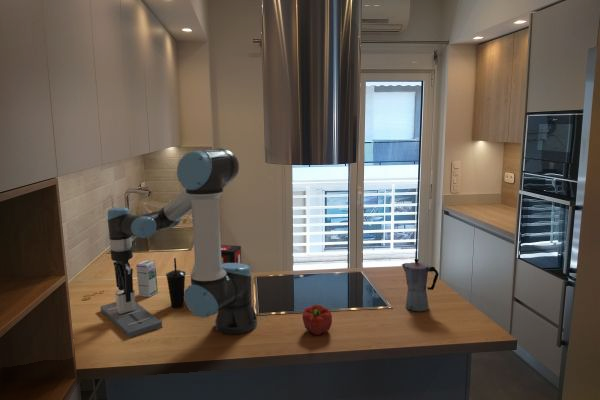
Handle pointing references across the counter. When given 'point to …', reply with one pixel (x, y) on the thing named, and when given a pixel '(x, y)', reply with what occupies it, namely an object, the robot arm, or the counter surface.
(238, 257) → the cleaning product box
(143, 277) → the syrup box
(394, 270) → the counter surface
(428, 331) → the counter surface
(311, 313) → the vegetable
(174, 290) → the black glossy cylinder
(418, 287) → the moka pot
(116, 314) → the fader console
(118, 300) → the fader knob
